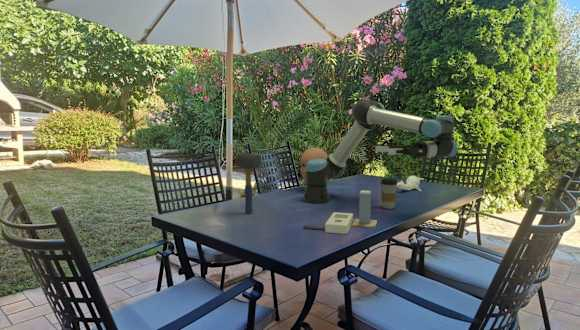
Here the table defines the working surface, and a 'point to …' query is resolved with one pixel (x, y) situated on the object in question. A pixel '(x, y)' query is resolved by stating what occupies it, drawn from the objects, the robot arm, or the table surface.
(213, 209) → the table surface
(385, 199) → the coffee cup
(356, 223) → the coaster
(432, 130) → the robot arm
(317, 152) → the mannequin head
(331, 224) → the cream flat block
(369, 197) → the pale grey tall block
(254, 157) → the rubber mallet
